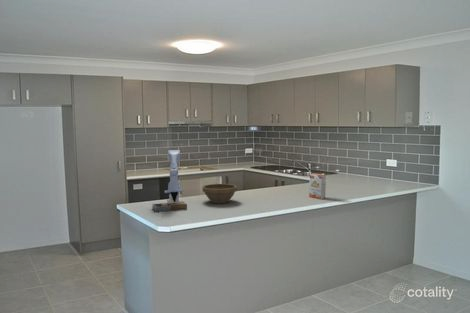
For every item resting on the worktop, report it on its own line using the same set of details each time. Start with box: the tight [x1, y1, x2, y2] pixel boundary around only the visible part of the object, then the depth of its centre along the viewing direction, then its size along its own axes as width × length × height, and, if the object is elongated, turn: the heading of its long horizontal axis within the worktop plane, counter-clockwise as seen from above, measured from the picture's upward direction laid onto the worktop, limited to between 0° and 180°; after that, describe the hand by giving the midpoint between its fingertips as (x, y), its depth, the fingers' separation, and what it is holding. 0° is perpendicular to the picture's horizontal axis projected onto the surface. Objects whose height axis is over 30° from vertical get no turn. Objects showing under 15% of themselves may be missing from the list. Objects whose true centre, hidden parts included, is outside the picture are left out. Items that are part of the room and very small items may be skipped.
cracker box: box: [308, 172, 327, 200], centre depth 360 cm, size 14×6×21 cm, turn 37°
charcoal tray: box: [152, 202, 172, 213], centre depth 315 cm, size 12×12×4 cm
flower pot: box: [202, 183, 238, 204], centre depth 344 cm, size 28×28×13 cm
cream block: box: [166, 198, 173, 204], centre depth 320 cm, size 4×4×2 cm
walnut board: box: [170, 200, 188, 211], centre depth 320 cm, size 12×12×4 cm
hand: (174, 201), depth 322 cm, fingers closed
